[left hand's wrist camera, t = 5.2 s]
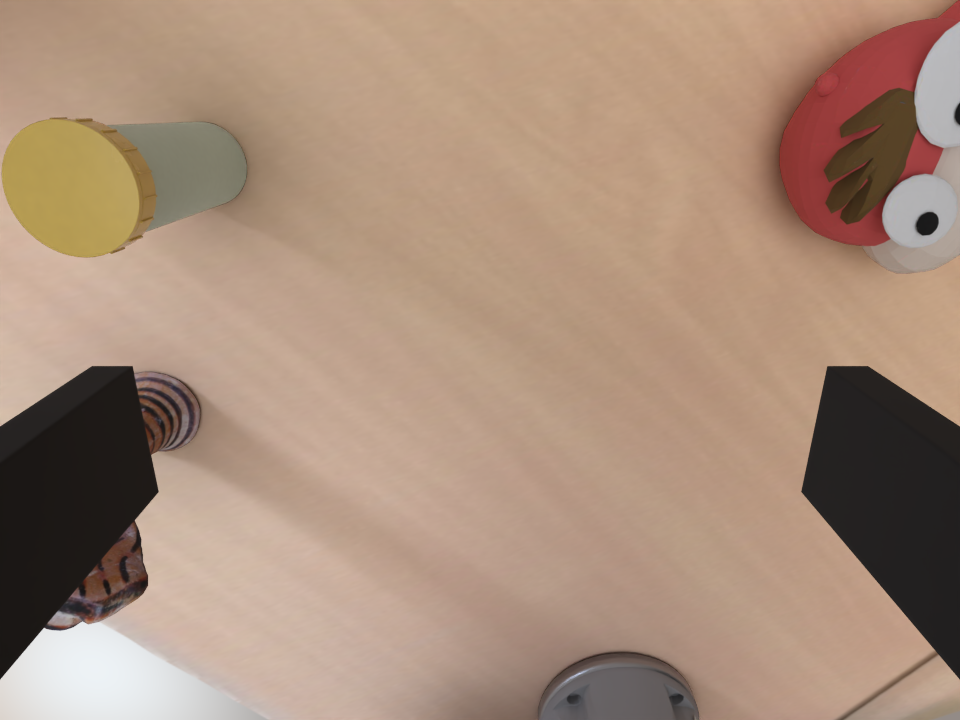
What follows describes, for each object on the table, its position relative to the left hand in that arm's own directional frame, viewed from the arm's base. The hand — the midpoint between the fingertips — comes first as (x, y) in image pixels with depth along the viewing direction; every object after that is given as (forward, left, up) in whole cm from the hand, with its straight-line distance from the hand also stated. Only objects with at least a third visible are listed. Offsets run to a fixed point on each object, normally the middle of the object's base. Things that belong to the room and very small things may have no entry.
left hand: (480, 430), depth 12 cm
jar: (+2, +19, -36) cm, 41 cm away
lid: (+2, +19, -20) cm, 28 cm away
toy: (+4, -34, -36) cm, 50 cm away
